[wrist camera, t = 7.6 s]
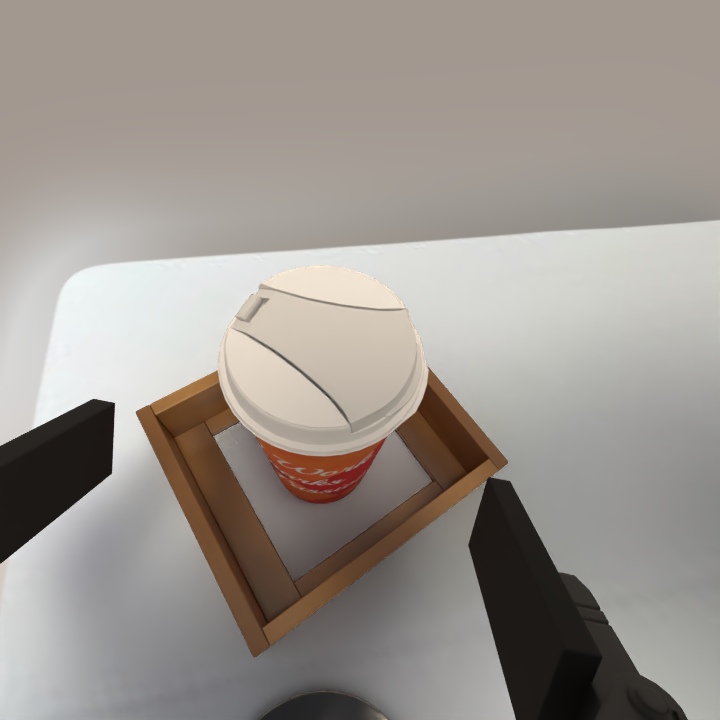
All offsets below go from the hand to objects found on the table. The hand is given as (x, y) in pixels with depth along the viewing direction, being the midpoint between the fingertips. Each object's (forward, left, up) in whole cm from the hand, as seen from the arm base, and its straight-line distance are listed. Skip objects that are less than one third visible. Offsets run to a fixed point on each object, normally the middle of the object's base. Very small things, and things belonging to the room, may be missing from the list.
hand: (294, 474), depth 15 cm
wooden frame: (-3, -3, -12) cm, 12 cm away
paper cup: (-3, -3, -12) cm, 13 cm away
